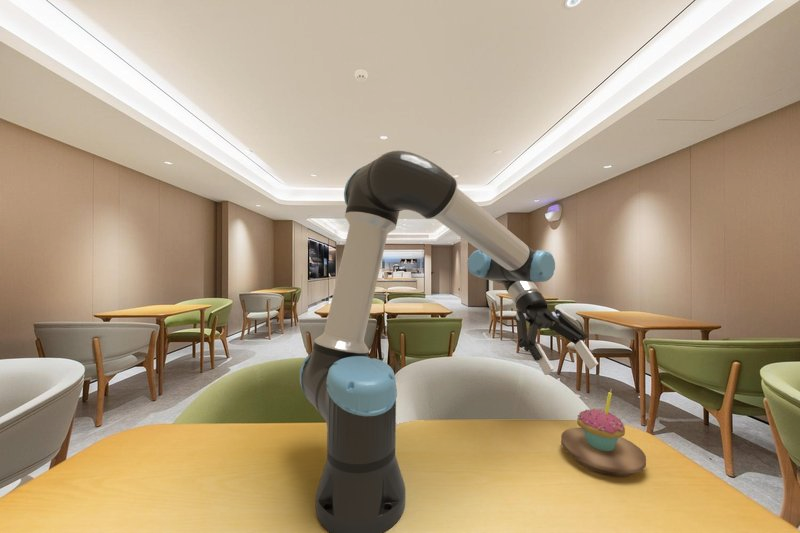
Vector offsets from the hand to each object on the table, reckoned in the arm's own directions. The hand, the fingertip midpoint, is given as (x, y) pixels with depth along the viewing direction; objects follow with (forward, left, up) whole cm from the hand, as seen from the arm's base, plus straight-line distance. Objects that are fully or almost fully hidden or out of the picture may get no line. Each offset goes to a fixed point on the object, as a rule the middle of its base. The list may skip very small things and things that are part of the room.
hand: (572, 369), depth 74 cm
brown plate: (+2, -7, -17) cm, 18 cm away
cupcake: (+2, -7, -14) cm, 16 cm away
